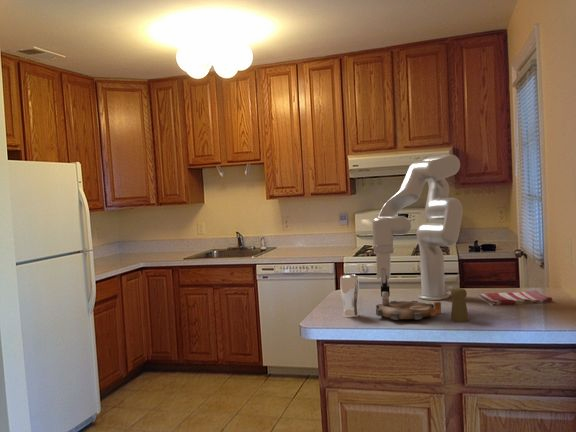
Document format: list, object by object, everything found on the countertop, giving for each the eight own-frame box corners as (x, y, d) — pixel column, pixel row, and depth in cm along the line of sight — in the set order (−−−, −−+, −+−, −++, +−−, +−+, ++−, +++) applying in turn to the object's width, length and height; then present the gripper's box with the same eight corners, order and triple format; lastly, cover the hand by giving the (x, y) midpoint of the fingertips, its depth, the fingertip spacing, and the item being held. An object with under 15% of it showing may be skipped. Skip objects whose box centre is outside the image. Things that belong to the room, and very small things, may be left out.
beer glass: (355, 318, 183) (353, 278, 182) (338, 316, 187) (336, 277, 186) (363, 314, 189) (361, 274, 188) (346, 312, 193) (344, 274, 192)
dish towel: (554, 304, 190) (554, 297, 190) (492, 307, 191) (492, 300, 191) (533, 295, 207) (533, 288, 207) (477, 297, 208) (476, 291, 208)
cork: (469, 318, 175) (468, 287, 174) (468, 322, 169) (466, 290, 169) (451, 317, 177) (450, 286, 177) (449, 321, 172) (448, 289, 171)
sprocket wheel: (443, 308, 186) (442, 289, 185) (424, 322, 168) (424, 301, 167) (388, 303, 198) (387, 286, 197) (365, 316, 180) (364, 297, 179)
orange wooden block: (424, 307, 193) (423, 297, 193) (444, 314, 182) (444, 303, 182) (382, 314, 186) (381, 304, 186) (401, 321, 175) (400, 310, 175)
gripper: (374, 247, 201) (376, 292, 202) (372, 252, 186) (374, 300, 187) (393, 247, 199) (395, 292, 200) (392, 251, 185) (394, 300, 185)
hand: (385, 296), depth 193 cm, fingers closed
